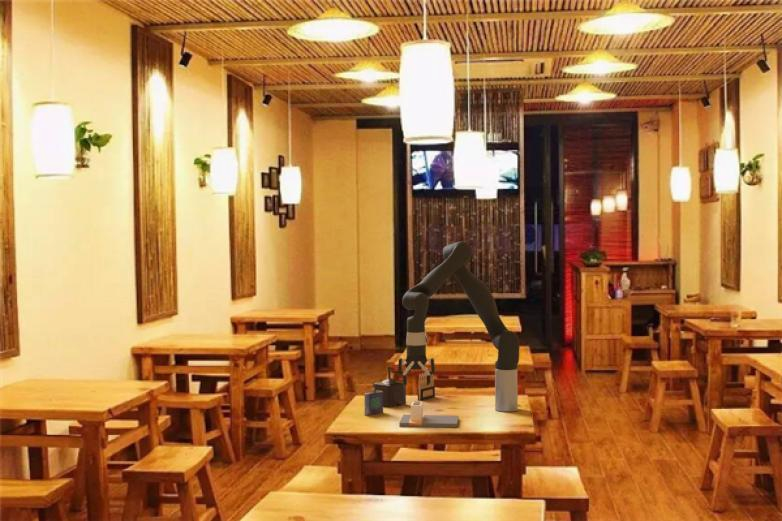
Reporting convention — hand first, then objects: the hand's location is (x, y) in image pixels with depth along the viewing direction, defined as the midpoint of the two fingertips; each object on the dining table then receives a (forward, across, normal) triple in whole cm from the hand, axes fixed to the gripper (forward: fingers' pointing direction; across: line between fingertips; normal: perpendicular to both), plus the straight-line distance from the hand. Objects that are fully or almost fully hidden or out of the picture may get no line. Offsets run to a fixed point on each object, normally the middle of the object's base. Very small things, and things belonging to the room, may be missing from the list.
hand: (416, 384), depth 365 cm
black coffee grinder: (+15, +13, -38) cm, 43 cm away
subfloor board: (+15, -5, 0) cm, 16 cm away
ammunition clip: (+15, 0, -50) cm, 52 cm away
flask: (+15, +19, -16) cm, 29 cm away
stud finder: (+14, 0, 0) cm, 14 cm away
